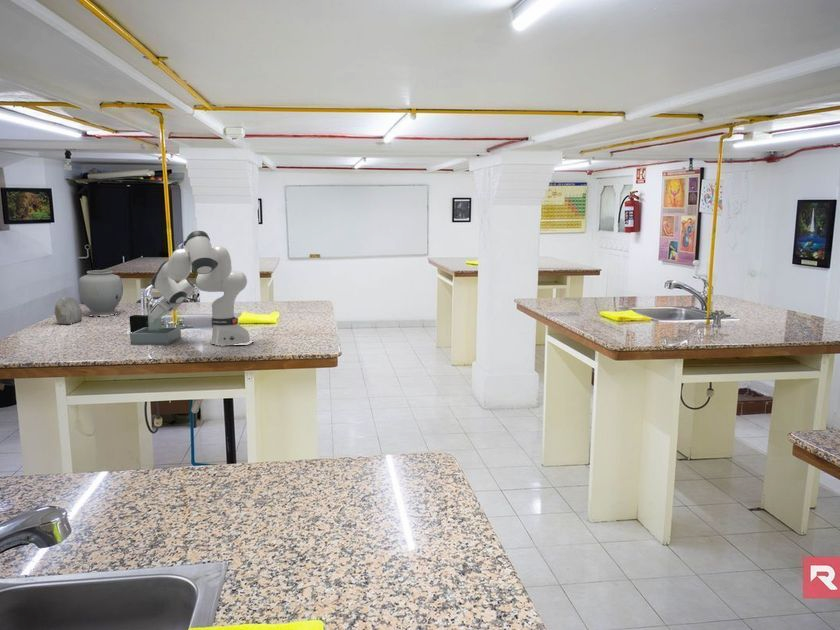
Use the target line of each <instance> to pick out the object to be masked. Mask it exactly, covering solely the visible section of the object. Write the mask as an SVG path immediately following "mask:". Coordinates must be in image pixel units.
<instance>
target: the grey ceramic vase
mask: <svg viewBox="0 0 840 630" xmlns="http://www.w3.org/2000/svg"><path fill="white" fill-rule="evenodd" d="M77 284H78V285H77V286H78V288H77V289H78V294H79V299H80V300H81V302H82V303H83V305H84V306H85V307H86V308H87V309H89V311H90V312H89V313H88V315H92V316H100V315H111V314H116V311H115V309H116V308H117V306H118V305H119V304H120V302H121V300H122V297H123V292H124V291H123V290H124V289H123V281H122V278H121V276H120V275H117V274H114V272H113V270H110V269H109V270H108V269H95V270H88V271H86V275H85V274H84V275H82V276H81V277H80V278H79V279H78V283H77ZM88 315H87V316H88Z"/></svg>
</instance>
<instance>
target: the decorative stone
mask: <svg viewBox="0 0 840 630" xmlns="http://www.w3.org/2000/svg"><path fill="white" fill-rule="evenodd" d="M54 306H55V307H54V316H55V318H56V323H58V324H61V325H72V324H71V323H74V324H76V323H75V322H77V323H79V322H82V320H83V319H82V317H83V313H82V312H83V311H82V308H81V306H80V305H79V302H78V301H77V299H76V298H74V297H70V296H64V297H60V298H59V299H58V300H57V302H56V303H55V305H54ZM78 321H79V322H78Z"/></svg>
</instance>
